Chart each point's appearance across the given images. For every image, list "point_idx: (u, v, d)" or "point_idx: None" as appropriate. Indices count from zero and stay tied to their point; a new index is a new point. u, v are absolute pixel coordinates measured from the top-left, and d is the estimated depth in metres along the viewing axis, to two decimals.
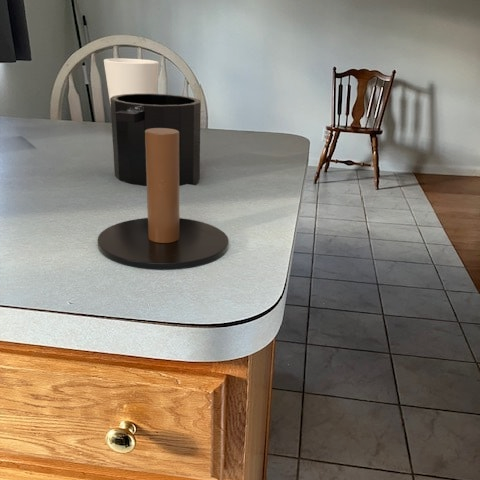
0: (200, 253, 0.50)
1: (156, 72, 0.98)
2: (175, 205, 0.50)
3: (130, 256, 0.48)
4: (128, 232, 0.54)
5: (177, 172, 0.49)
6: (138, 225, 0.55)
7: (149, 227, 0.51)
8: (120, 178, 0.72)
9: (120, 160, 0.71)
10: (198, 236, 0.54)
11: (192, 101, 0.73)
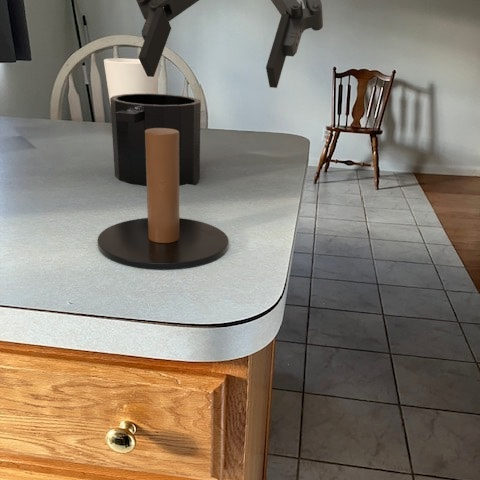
0: (200, 253, 0.50)
1: (156, 72, 0.98)
2: (175, 205, 0.50)
3: (130, 256, 0.48)
4: (128, 232, 0.54)
5: (177, 172, 0.49)
6: (138, 225, 0.55)
7: (149, 227, 0.51)
8: (120, 178, 0.72)
9: (120, 160, 0.71)
10: (198, 236, 0.54)
11: (192, 101, 0.73)
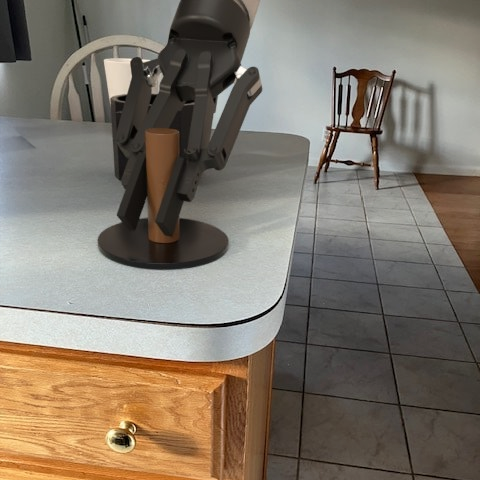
0: (200, 253, 0.50)
1: None
2: None
3: (130, 256, 0.48)
4: (128, 232, 0.54)
5: None
6: (138, 225, 0.55)
7: (149, 227, 0.51)
8: (120, 178, 0.72)
9: (120, 160, 0.71)
10: (198, 236, 0.54)
11: (192, 101, 0.73)
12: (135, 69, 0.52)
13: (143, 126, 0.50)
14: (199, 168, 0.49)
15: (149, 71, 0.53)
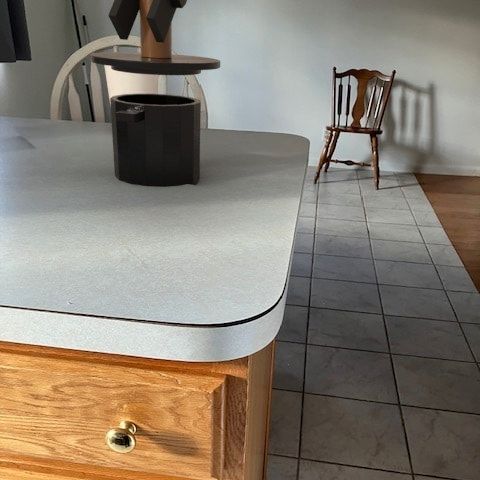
0: None
1: None
2: None
3: (122, 58, 0.49)
4: (121, 54, 0.54)
5: None
6: (131, 53, 0.56)
7: (141, 42, 0.52)
8: (120, 178, 0.72)
9: (120, 160, 0.71)
10: (190, 58, 0.54)
11: (192, 101, 0.73)
12: None
13: None
14: None
15: None
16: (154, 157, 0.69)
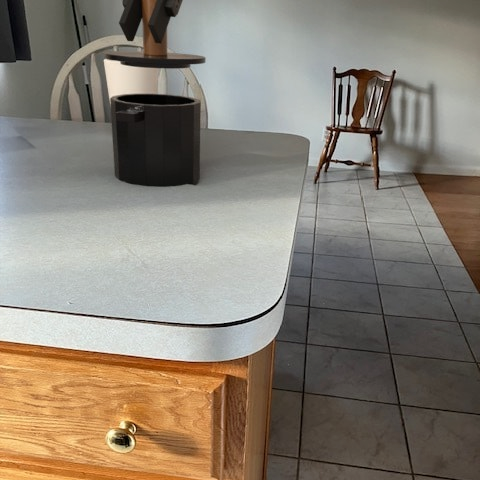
0: (182, 58, 0.65)
1: (156, 72, 0.98)
2: None
3: (129, 56, 0.64)
4: (128, 52, 0.69)
5: None
6: None
7: (144, 43, 0.67)
8: (120, 178, 0.72)
9: (120, 160, 0.71)
10: None
11: (192, 101, 0.73)
12: None
13: None
14: None
15: None
16: (154, 157, 0.69)
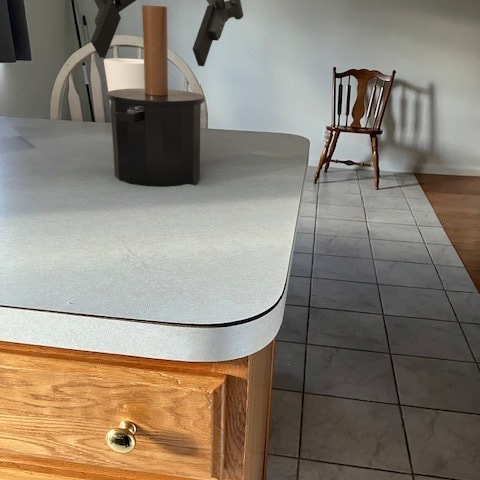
0: (182, 99, 0.68)
1: None
2: (164, 65, 0.68)
3: (131, 98, 0.66)
4: (130, 91, 0.71)
5: (165, 38, 0.67)
6: (137, 90, 0.73)
7: (145, 83, 0.69)
8: (120, 178, 0.72)
9: (120, 160, 0.71)
10: (182, 95, 0.71)
11: None
12: None
13: None
14: (224, 15, 0.66)
15: None
16: (154, 157, 0.69)
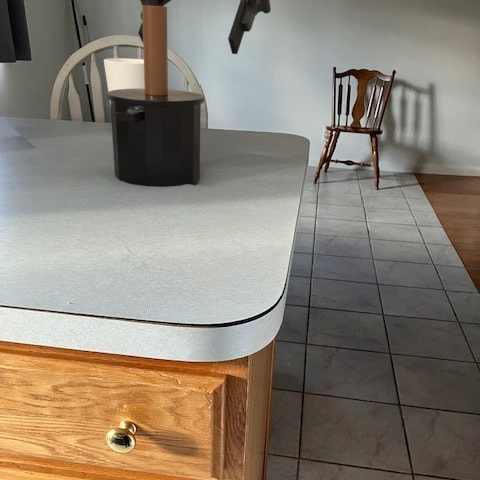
0: (182, 99, 0.68)
1: None
2: (164, 65, 0.68)
3: (131, 98, 0.66)
4: (130, 91, 0.71)
5: (165, 38, 0.67)
6: (137, 90, 0.73)
7: (145, 83, 0.69)
8: (120, 178, 0.72)
9: (120, 160, 0.71)
10: (182, 95, 0.71)
11: None
12: None
13: None
14: (254, 9, 0.76)
15: None
16: (154, 157, 0.69)
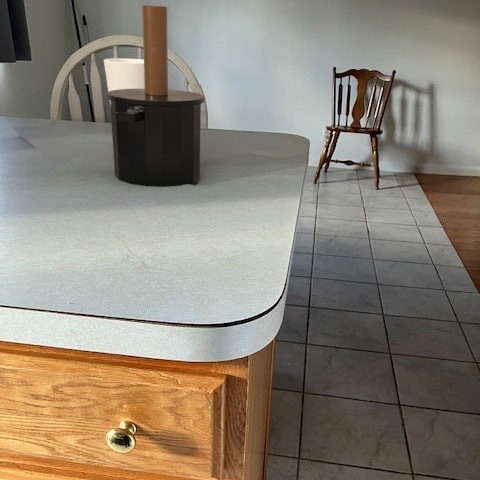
0: (182, 99, 0.68)
1: None
2: (164, 65, 0.68)
3: (131, 98, 0.66)
4: (130, 91, 0.71)
5: (165, 38, 0.67)
6: (137, 90, 0.73)
7: (145, 83, 0.69)
8: (120, 178, 0.72)
9: (120, 160, 0.71)
10: (182, 95, 0.71)
11: None
12: None
13: None
14: None
15: None
16: (154, 157, 0.69)
